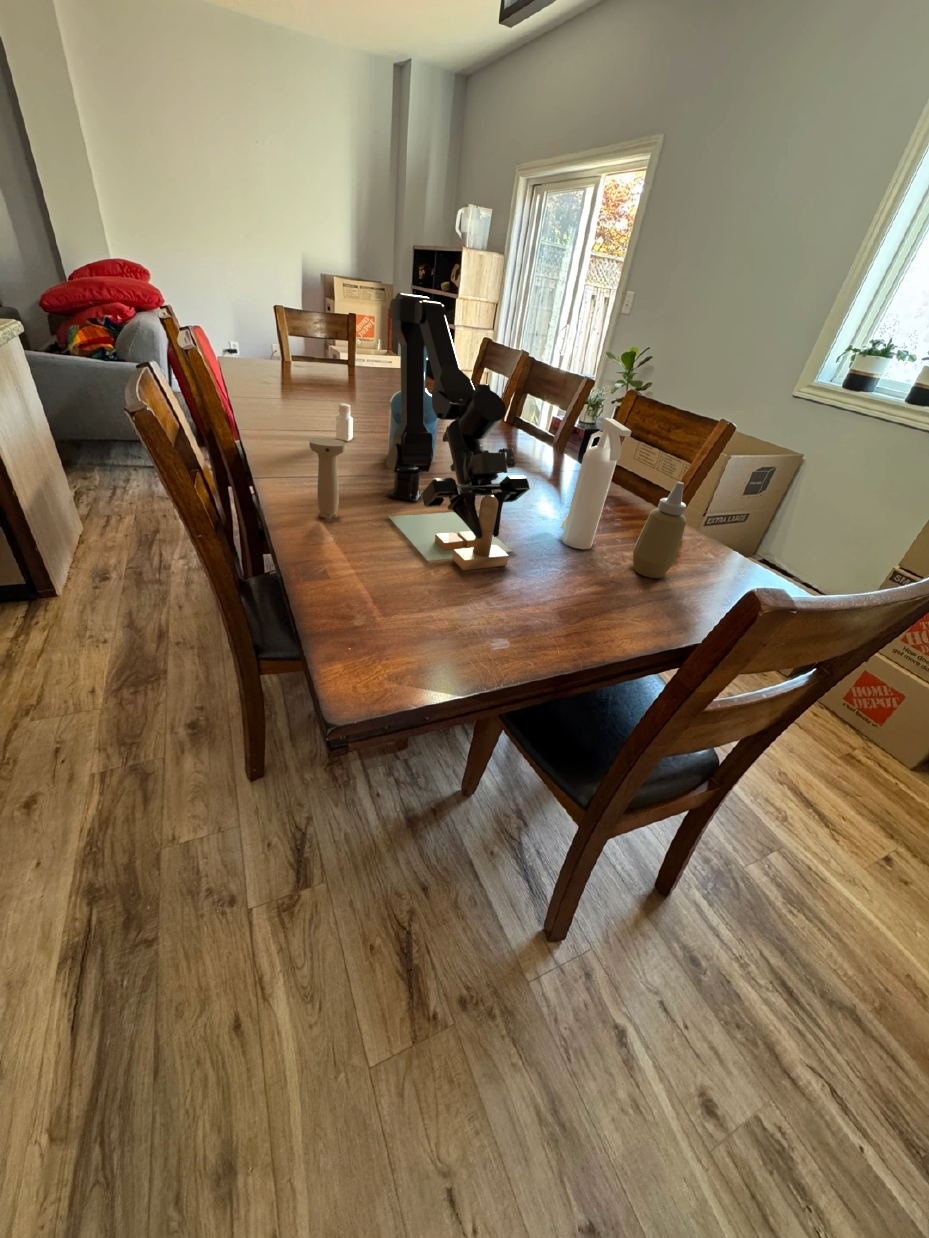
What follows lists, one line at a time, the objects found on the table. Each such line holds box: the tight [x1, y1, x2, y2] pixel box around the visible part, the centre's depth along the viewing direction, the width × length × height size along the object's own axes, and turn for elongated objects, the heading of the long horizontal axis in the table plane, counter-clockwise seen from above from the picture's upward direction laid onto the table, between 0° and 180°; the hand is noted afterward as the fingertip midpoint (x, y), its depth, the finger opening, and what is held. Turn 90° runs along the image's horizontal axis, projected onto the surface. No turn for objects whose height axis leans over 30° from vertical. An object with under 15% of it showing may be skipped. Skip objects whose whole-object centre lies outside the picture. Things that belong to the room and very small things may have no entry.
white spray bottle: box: [559, 417, 632, 550], centre depth 102 cm, size 7×12×25 cm, turn 16°
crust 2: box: [458, 531, 475, 548], centre depth 98 cm, size 4×4×2 cm
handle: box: [309, 437, 347, 520], centre depth 97 cm, size 5×6×15 cm
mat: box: [387, 511, 513, 562], centre depth 102 cm, size 20×18×1 cm
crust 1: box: [435, 533, 463, 551], centre depth 96 cm, size 4×4×2 cm
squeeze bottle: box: [632, 481, 687, 579], centre depth 96 cm, size 8×8×18 cm
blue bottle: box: [386, 347, 440, 465], centre depth 133 cm, size 14×13×30 cm
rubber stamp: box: [451, 495, 510, 572], centre depth 89 cm, size 9×4×14 cm, turn 117°
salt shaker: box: [335, 403, 354, 442], centre depth 147 cm, size 4×4×10 cm
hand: (488, 537), depth 88 cm, fingers closed on rubber stamp, 3 cm apart
